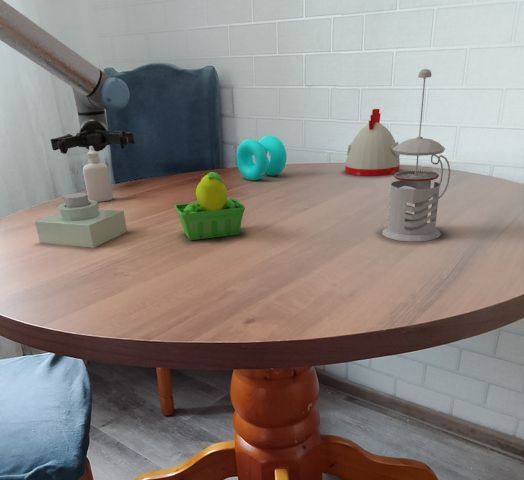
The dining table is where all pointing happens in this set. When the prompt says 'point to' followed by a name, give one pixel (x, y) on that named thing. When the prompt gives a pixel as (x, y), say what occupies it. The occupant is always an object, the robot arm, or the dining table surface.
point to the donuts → (261, 157)
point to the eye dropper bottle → (97, 178)
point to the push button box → (81, 226)
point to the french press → (415, 190)
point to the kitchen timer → (372, 150)
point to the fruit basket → (211, 211)
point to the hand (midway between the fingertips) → (93, 145)
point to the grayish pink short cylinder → (76, 200)
